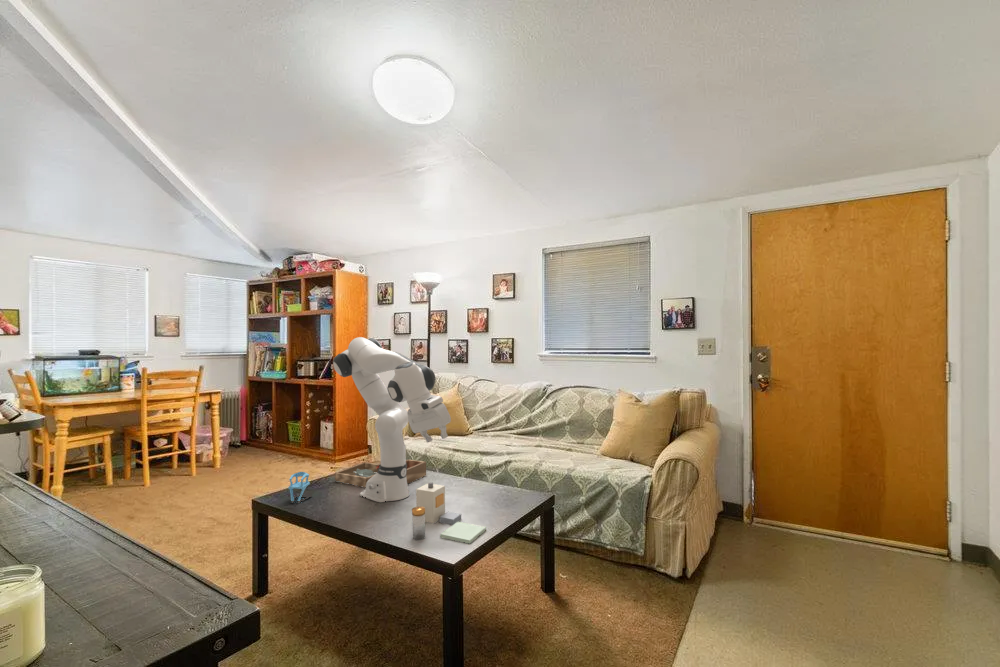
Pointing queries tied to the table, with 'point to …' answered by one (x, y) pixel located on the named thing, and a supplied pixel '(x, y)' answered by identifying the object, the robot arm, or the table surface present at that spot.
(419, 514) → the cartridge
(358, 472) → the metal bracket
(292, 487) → the chair
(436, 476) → the table surface
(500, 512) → the table surface
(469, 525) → the pad
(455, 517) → the cover plate
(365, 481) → the brown wooden tray
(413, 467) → the bracket holder
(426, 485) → the box
